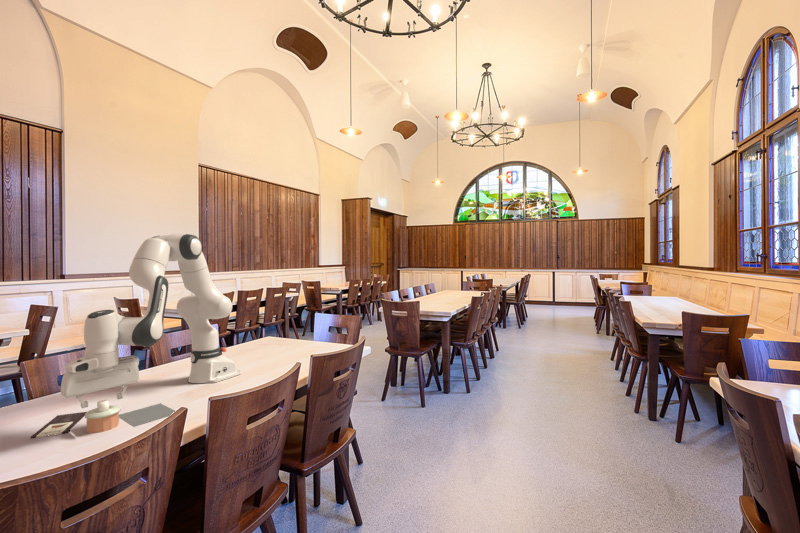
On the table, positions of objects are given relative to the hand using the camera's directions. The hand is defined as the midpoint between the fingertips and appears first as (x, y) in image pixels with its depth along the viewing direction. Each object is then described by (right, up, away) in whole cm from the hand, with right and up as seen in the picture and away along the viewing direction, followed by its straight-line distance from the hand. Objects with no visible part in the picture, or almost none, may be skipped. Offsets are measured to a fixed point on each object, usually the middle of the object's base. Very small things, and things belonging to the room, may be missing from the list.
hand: (102, 402), depth 123 cm
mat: (+8, -8, +10) cm, 15 cm away
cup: (0, -8, 0) cm, 8 cm away
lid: (0, -3, 0) cm, 3 cm away
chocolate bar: (-16, -9, +3) cm, 19 cm away
